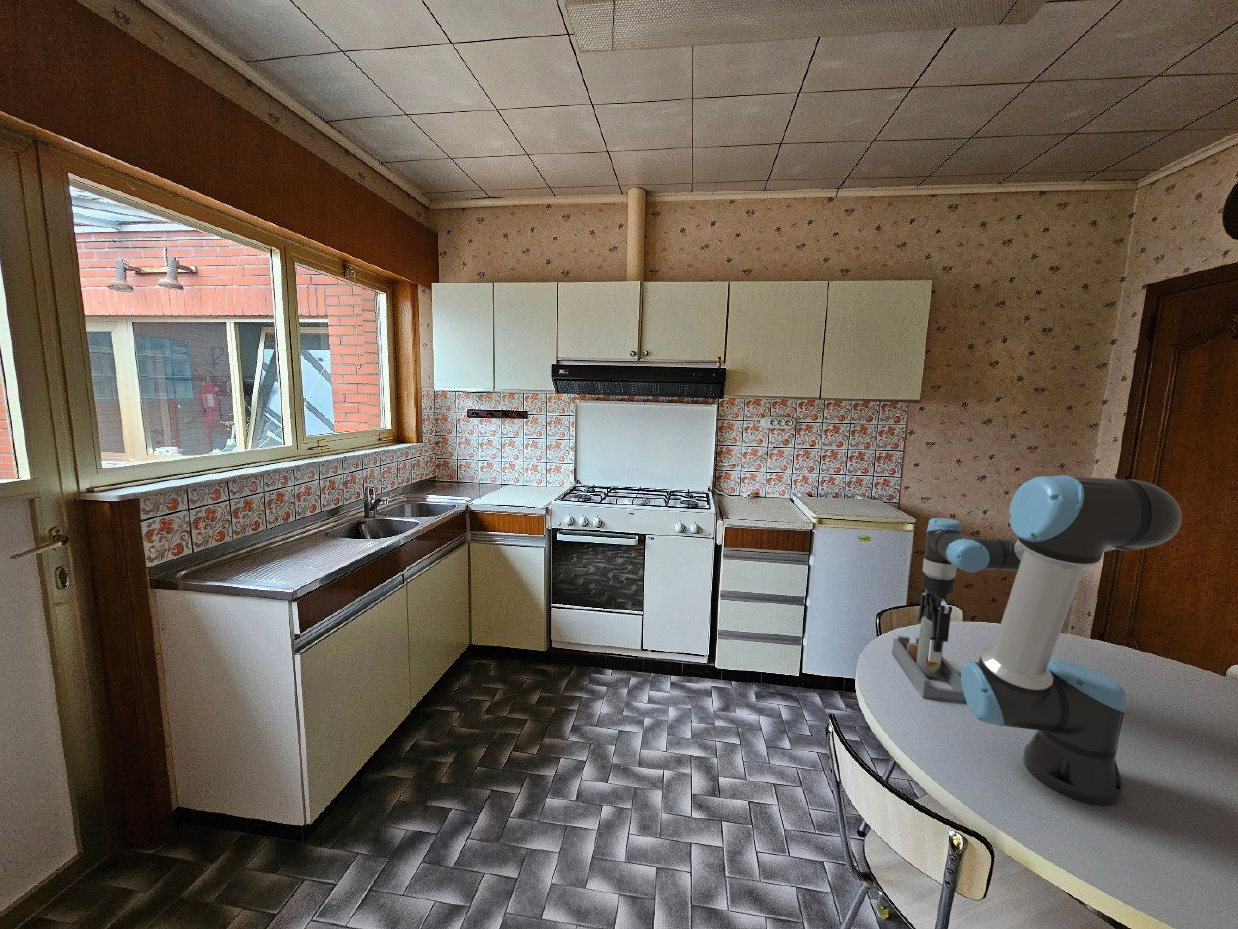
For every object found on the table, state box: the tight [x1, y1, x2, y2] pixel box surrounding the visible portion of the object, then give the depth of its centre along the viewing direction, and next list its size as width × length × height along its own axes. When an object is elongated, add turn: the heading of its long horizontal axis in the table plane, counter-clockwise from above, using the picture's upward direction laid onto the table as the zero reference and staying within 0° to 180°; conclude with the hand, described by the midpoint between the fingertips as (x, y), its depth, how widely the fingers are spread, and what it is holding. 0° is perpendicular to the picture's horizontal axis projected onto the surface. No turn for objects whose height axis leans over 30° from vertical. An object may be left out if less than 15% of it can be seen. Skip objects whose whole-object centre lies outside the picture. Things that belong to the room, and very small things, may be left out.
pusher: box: [907, 642, 918, 663], centre depth 146 cm, size 7×7×6 cm
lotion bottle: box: [916, 603, 945, 677], centre depth 137 cm, size 6×6×20 cm
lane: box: [891, 635, 967, 704], centre depth 139 cm, size 23×10×6 cm, turn 169°
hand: (929, 655), depth 138 cm, fingers closed on lotion bottle, 5 cm apart
